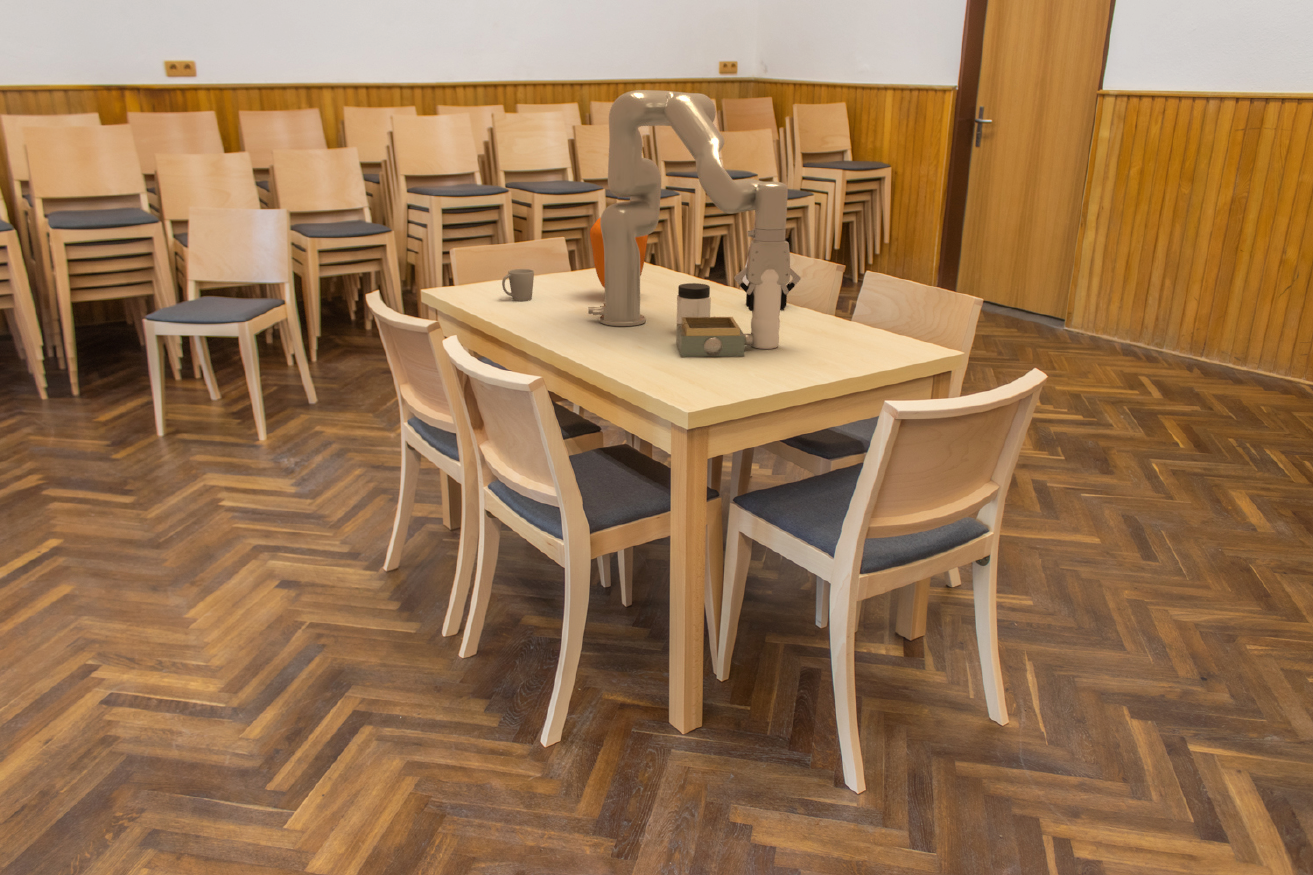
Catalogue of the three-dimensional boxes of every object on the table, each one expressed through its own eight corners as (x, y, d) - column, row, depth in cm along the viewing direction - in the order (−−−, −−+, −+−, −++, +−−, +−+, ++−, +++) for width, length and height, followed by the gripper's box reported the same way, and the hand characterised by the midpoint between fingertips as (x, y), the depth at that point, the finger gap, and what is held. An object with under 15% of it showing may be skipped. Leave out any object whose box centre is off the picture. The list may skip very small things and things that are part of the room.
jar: (672, 333, 251) (672, 287, 247) (680, 327, 258) (681, 282, 254) (705, 336, 248) (706, 290, 244) (713, 329, 256) (714, 284, 252)
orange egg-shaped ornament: (658, 300, 290) (659, 215, 282) (609, 307, 281) (609, 219, 273) (627, 291, 304) (627, 209, 295) (580, 296, 295) (578, 213, 286)
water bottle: (777, 350, 235) (783, 246, 227) (748, 348, 237) (752, 245, 228) (779, 343, 242) (785, 242, 233) (751, 342, 243) (756, 241, 235)
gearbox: (681, 357, 228) (681, 329, 226) (676, 343, 241) (676, 317, 239) (757, 356, 230) (758, 329, 227) (748, 342, 242) (749, 316, 240)
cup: (539, 300, 289) (538, 271, 286) (509, 304, 284) (508, 275, 281) (527, 296, 295) (526, 268, 292) (497, 299, 290) (496, 271, 287)
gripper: (735, 238, 226) (732, 313, 232) (809, 238, 227) (804, 312, 233) (730, 233, 233) (728, 306, 239) (802, 233, 234) (798, 306, 240)
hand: (765, 309), depth 236 cm, fingers closed on water bottle, 7 cm apart
